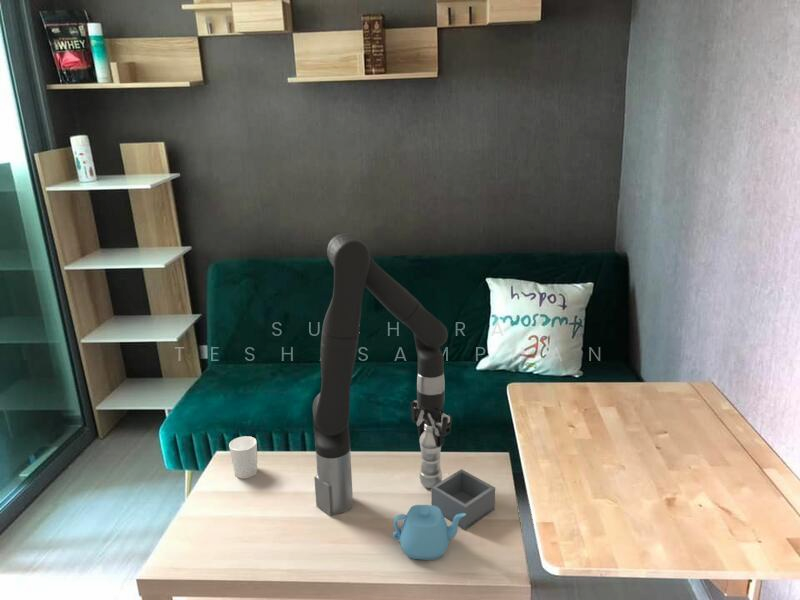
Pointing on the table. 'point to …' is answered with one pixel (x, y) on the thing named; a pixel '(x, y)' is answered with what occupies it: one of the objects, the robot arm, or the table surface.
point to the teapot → (425, 532)
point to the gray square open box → (464, 498)
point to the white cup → (244, 456)
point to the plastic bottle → (430, 457)
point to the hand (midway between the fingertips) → (430, 441)
